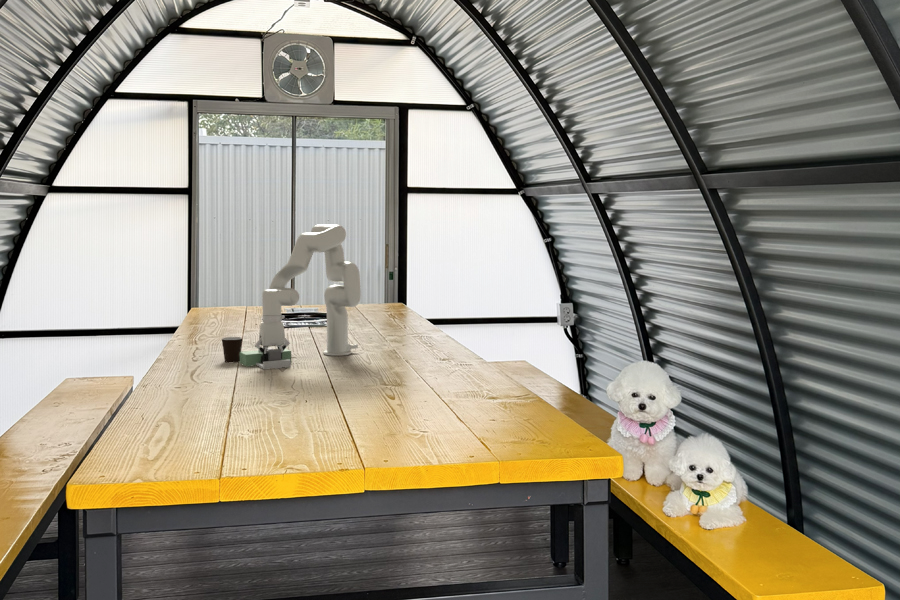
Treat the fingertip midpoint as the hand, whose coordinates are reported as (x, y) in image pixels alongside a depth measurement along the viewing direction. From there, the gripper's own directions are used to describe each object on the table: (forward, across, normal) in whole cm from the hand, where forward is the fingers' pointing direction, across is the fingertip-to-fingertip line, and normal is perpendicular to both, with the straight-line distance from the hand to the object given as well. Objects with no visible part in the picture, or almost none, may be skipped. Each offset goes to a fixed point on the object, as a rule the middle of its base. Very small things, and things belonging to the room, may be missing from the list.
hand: (272, 361), depth 337 cm
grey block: (+1, 0, 0) cm, 1 cm away
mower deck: (+2, 0, -3) cm, 4 cm away
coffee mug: (+2, +10, -20) cm, 23 cm away
